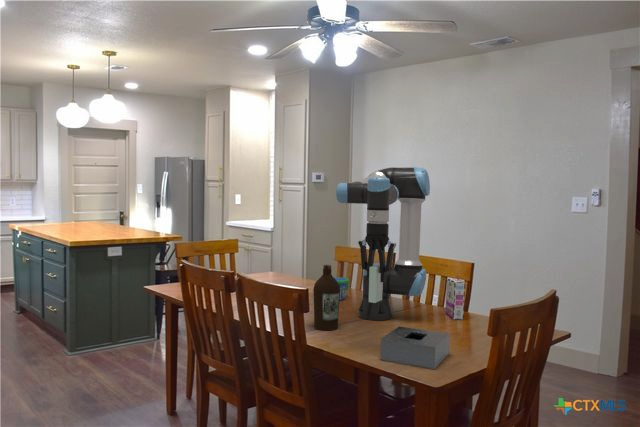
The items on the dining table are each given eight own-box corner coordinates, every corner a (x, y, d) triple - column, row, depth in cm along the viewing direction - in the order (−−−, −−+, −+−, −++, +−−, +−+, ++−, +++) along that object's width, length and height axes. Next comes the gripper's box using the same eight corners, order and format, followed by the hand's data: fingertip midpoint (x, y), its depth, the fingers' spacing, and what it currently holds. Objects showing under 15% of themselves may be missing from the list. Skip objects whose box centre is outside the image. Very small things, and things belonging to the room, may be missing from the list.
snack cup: (340, 295, 279) (341, 275, 278) (355, 298, 271) (356, 278, 271) (318, 299, 268) (319, 278, 267) (334, 303, 260) (334, 282, 260)
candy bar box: (464, 320, 232) (465, 282, 231) (453, 320, 232) (454, 282, 231) (455, 313, 243) (457, 277, 242) (444, 313, 243) (446, 277, 242)
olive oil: (308, 325, 218) (309, 263, 216) (332, 323, 222) (333, 262, 221) (319, 332, 208) (320, 267, 207) (344, 329, 213) (345, 266, 211)
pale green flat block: (368, 302, 184) (369, 267, 184) (375, 299, 190) (376, 264, 189) (375, 302, 183) (376, 267, 183) (382, 299, 188) (383, 265, 188)
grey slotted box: (380, 359, 177) (380, 338, 177) (398, 345, 193) (399, 326, 193) (434, 369, 169) (435, 347, 168) (448, 353, 185) (449, 333, 184)
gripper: (352, 222, 185) (350, 290, 187) (395, 224, 178) (393, 295, 179) (361, 221, 192) (359, 286, 193) (403, 223, 185) (401, 291, 186)
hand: (375, 290), depth 186 cm, fingers closed on pale green flat block, 2 cm apart
